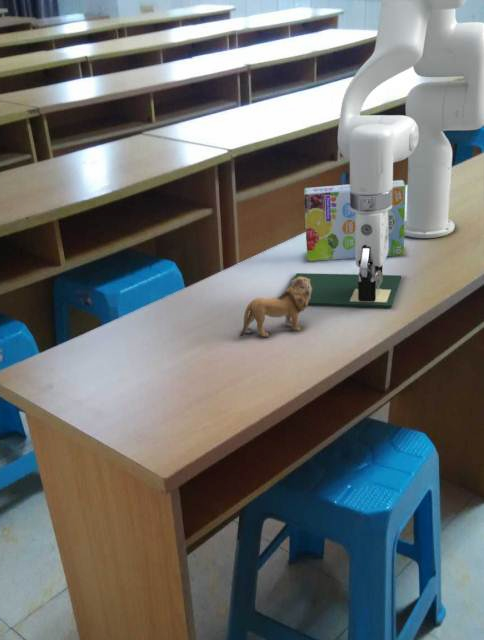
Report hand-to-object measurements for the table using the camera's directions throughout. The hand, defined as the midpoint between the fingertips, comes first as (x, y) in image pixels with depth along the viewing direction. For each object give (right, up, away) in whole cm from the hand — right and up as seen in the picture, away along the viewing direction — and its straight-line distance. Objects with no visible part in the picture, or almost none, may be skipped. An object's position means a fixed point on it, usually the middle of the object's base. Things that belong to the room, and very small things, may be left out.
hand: (370, 291), depth 139 cm
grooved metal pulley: (0, -1, +1) cm, 1 cm away
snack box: (+1, +13, +22) cm, 25 cm away
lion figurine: (-18, -8, -6) cm, 21 cm away
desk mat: (-5, +1, +6) cm, 8 cm away
